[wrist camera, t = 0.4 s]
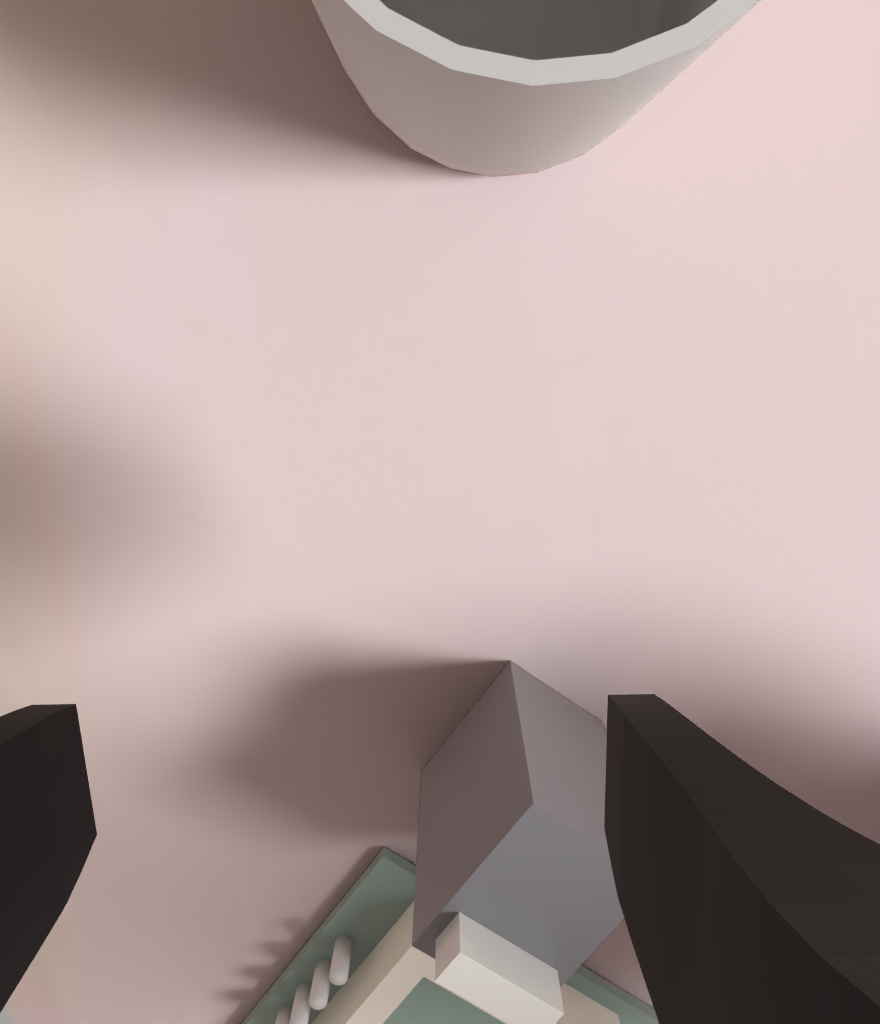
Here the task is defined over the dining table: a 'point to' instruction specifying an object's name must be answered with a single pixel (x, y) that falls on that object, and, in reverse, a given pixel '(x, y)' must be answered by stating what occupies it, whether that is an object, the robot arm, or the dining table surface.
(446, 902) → the plug
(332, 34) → the cup
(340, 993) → the board
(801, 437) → the dining table surface
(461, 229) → the dining table surface
